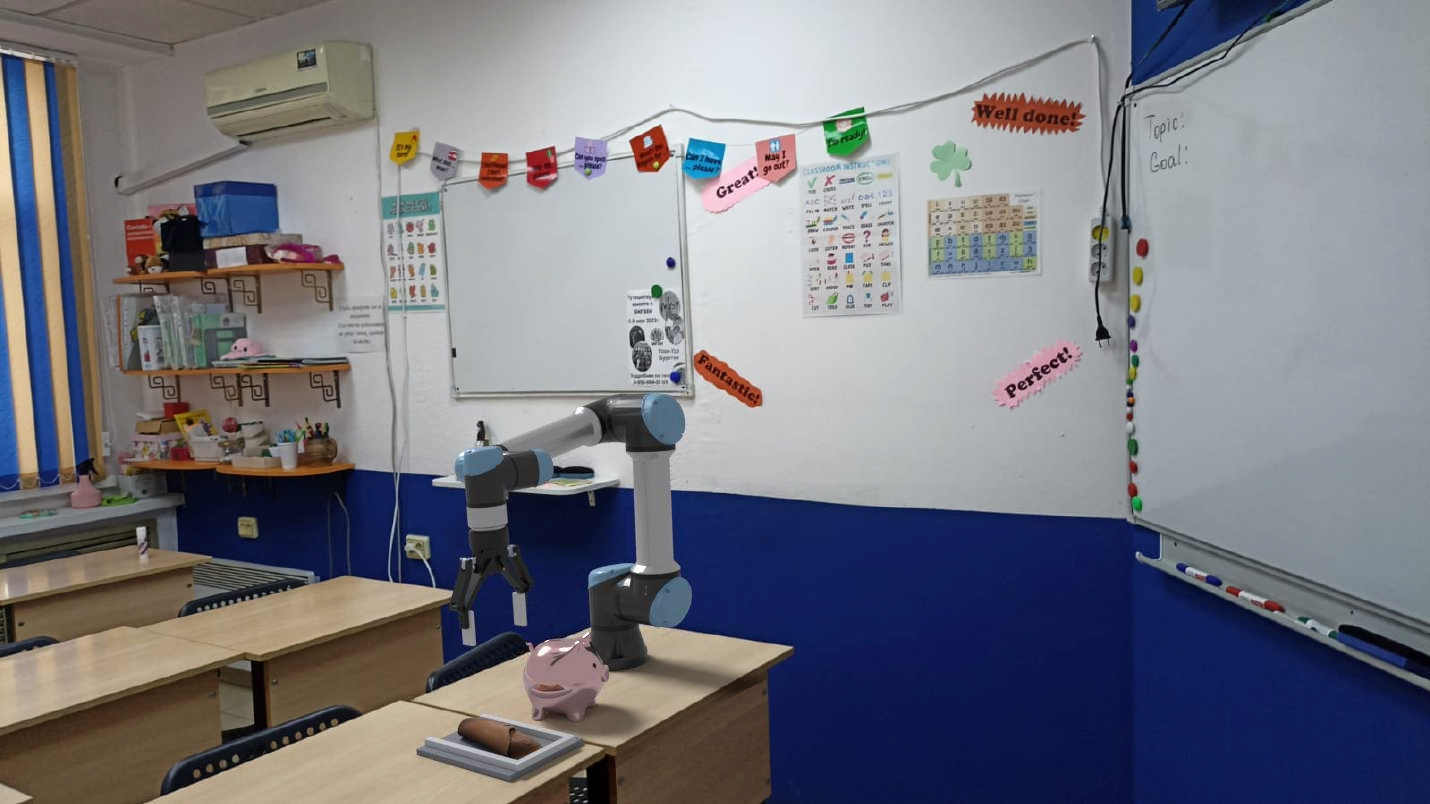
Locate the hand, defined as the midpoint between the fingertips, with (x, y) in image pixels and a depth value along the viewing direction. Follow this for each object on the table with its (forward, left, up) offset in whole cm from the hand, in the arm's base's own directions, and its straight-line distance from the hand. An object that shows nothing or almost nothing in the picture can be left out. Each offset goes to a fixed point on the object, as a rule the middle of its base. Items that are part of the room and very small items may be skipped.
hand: (495, 634), depth 191 cm
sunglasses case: (+4, +4, -20) cm, 20 cm away
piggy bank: (-17, +2, -21) cm, 27 cm away
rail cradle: (+4, +4, -20) cm, 21 cm away
